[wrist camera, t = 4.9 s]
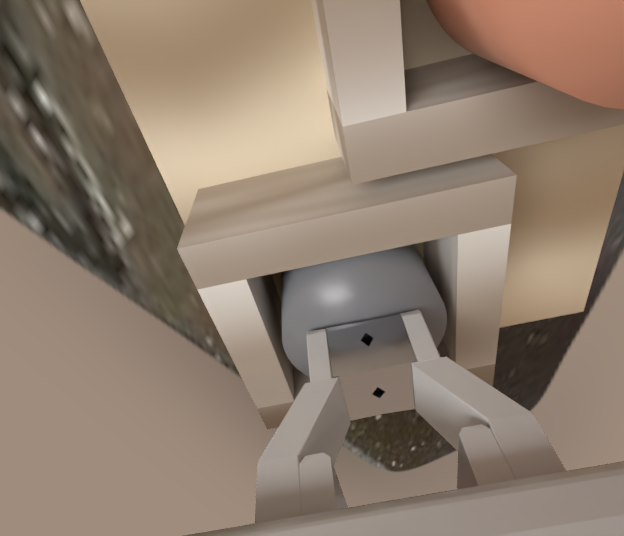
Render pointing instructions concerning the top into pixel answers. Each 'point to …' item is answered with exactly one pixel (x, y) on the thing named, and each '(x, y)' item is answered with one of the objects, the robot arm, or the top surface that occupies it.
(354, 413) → the robot arm
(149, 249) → the top surface
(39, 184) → the top surface
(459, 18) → the middle button
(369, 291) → the button
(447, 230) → the control panel
